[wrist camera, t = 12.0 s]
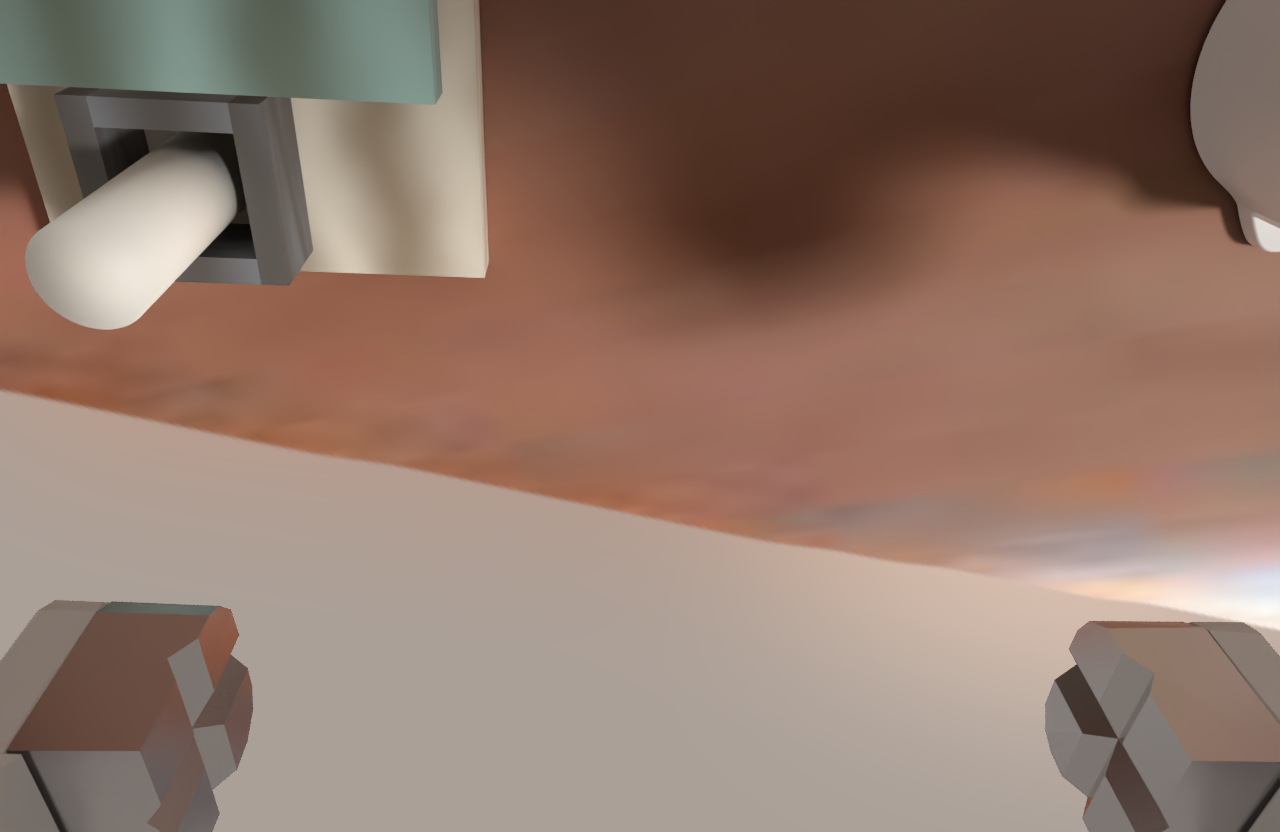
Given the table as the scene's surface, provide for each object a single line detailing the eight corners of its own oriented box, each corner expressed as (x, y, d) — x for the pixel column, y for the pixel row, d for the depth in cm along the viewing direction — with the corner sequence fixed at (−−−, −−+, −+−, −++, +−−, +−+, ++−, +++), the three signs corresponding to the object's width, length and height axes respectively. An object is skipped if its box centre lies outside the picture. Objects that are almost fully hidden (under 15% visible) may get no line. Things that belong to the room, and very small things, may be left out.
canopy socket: (471, -217, 35) (412, -240, 24) (488, 261, 46) (453, 395, 35) (-66, -255, 34) (-385, -298, 23) (82, 246, 45) (-85, 379, 34)
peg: (252, 125, 40) (134, 223, 30) (267, 212, 42) (162, 331, 32) (159, 120, 40) (8, 218, 29) (179, 208, 42) (44, 327, 32)
